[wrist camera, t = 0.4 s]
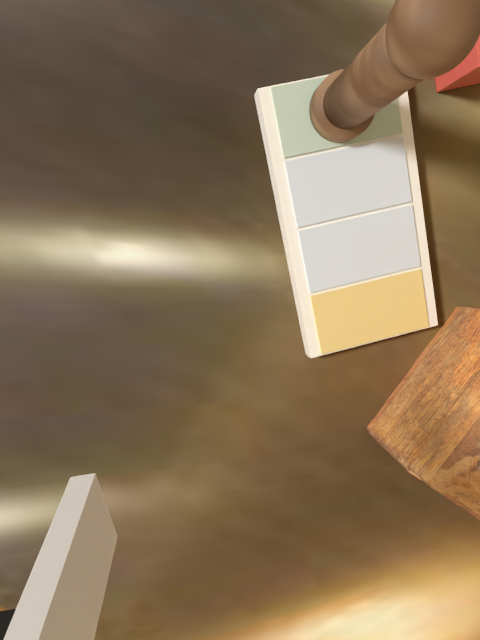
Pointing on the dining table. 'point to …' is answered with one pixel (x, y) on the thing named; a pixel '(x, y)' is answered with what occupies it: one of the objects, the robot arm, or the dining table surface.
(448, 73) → the die
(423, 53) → the pawn
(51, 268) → the dining table surface
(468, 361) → the wooden box
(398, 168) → the board
